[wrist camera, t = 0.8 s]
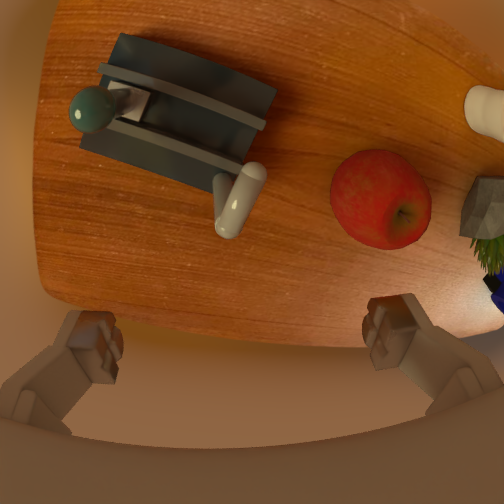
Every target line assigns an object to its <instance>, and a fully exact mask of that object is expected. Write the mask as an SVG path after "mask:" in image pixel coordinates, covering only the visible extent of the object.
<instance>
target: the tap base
mask: <svg viewBox="0 0 504 504" xmlns="http://www.w3.org/2000/svg"><path fill="white" fill-rule="evenodd" d="M97 73H101V74H103V76H102V78H101V81H100V83H99V86H103V87H105V88H107V89H108V86H109V83H110V81H111V80H117V81H120V82H124V83H127V84H130V85H134V86H137V87H140V88H143V89H146V90H150V91H153V94H152V97H151V99H150V102H149V104H148V107H147V109H146V112H145V115H144V117H143V120H141V121H140V122H137V121H134V120H130V119H127V118H124V117H121V116H120V117H118V118H115V119H113V121H112V122H111V123H110V125H109V126H108V127H107V128H105V129H104V130H102V131H100V132H98V133H94V134H86V133H83V136H82V139H81V143H80V146H79V148H81V149H85V150H88V151H91V152H94V153H97V154H100V155H103V156H106V157H109V158H112V159H115V160H118V161H121V162H124V163H127V164H130V165H133V166H136V167H139V168H142V169H145V170H148V171H151V172H154V173H156V174H159V175H162V176H165V177H168V178H171V179H173V180H176V181H179V182H182V183H185V184H187V185H190V186H193V187H196V188H198V189H201V190H204V191H207V192H209V193H212V194H213V205H214V222H215V230H216V232H217V233H218V234H219V235H220V236H221V237H223V238H225V239H233V238H235V237H237V236H238V235H239V234H240V233H241V231H242V229H243V226H244V224H245V222H246V220H247V218H248V216H249V214H250V212H251V210H252V208H253V206H254V204H255V202H256V200H257V198H258V196H259V194H260V192H261V190H262V188H263V186H264V184H265V182H266V180H267V170H266V168H265V167H264V165H262V164H261V163H259V162H255V161H252V162H248V163H246V164H245V165H244V163H243V160H244V158H245V156H246V154H247V152H248V150H249V148H250V146H251V144H252V142H253V140H254V138H255V135H256V133H257V131H258V130H261V131H263V129H264V127H265V125H266V123H267V121H265V120H264V117H265V115H266V113H267V111H268V109H269V107H270V105H271V103H272V101H273V99H274V97H275V95H276V93H277V91H278V89H275V88H273V87H271V86H269V85H267V84H265V83H263V82H260V81H258V80H256V79H254V78H251V77H249V76H247V75H244V74H242V73H240V72H237V71H235V70H233V69H230V68H228V67H225V66H223V65H220V64H218V63H215V62H212V61H210V60H207V59H204V58H202V57H199V56H196V55H193V54H191V53H188V52H185V51H182V50H179V49H176V48H173V47H170V46H167V45H163V44H160V43H157V42H153V41H150V40H147V39H143V38H139V37H136V36H132V35H128V34H124V33H120V35H119V37H118V40H117V42H116V44H115V46H114V49H113V51H112V53H111V56H110V58H109V60H108V63H103V62H101V63H100V65H99V68H98V71H97ZM236 175H238V177H237V179H236V181H235V183H234V184H233V182H234V180H235V178H236Z"/></svg>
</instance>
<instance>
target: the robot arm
mask: <svg viewBox="0 0 504 504" xmlns="http://www.w3.org/2000/svg"><path fill="white" fill-rule="evenodd" d="M367 309H368V311H369V313H368V314H367V315H366V316H365V317H364V319H363V323H362V335H363V339H364V342H365V345H367V346H368V347H369V348H371V349H372V350H371V353H370V357H371V360H372V362H373V365H374V367H375V370H376V371H377V370H383V369H388V368H395V367H399V369H400V370H401V371H402V372H403V373H404V374H406V375H407V376H408V377H409V378H410V379H411V380H412V381H413V382H414V383H415V384H417V385H418V386H419V387H420V388H421V389H422V390H423V391H424V392H426V393H427V394H428V395H429V396H430V397H431V398H432V399H433V400H434V402H433V403H432V404H431V405H430V407H429V408H428V409H427V411H426V413H425V415H426V416H424V417H421V418H418V419H414V420H411V421H407V422H404V423H400V424H397V425H393V426H389V427H385V428H381V429H376V430H372V431H368V432H363V433H358V434H353V435H348V436H343V437H337V438H331V439H325V440H319V441H312V442H305V443H297V444H289V445H278V446H266V447H252V448H229V449H228V448H227V449H188V448H165V447H152V446H141V445H140V446H139V445H131V444H122V443H114V442H107V441H100V440H94V439H88V438H83V437H78V436H72V435H71V434H72V432H71V431H70V429H69V428H68V427H67V426H66V425H65V424H64V423H63V422H62V421H61V420H62V419H63V418H64V417H65V415H66V414H67V413H68V412H69V411H70V410H71V408H72V407H73V406H74V405H75V404H76V403H77V402H78V400H79V399H80V398H81V397H82V396H83V395H84V393H85V392H86V391H87V390H88V389H89V388H90V387H91V385H92V383H98V384H115V381H116V377H117V373H118V370H119V368H118V366H117V364H116V362H117V361H118V360H119V359H120V358H121V357H122V354H123V337H122V334H121V331H120V330H119V329H118V328H117V327H116V326H114V325H115V322H116V319H115V317H114V315H113V313H112V312H110V311H85V310H84V311H77V310H71V311H70V312H68V314H67V316H66V318H65V320H64V322H63V324H62V326H61V328H60V330H59V333H58V335H57V337H56V339H55V341H54V343H53V346H48V347H47V348H45V349H44V350H43V351H42V352H40V353H39V354H38V355H37V356H35V357H34V358H33V359H32V360H30V361H29V362H28V363H27V364H26V365H24V366H23V367H22V368H21V369H19V370H18V371H17V372H16V373H15V374H13V375H12V376H11V377H10V378H9V379H7V380H6V381H5V382H4V383H3V385H2V387H1V389H0V504H504V384H503V382H502V381H501V379H500V377H499V375H498V374H497V372H496V370H495V368H494V367H493V365H492V363H491V361H490V360H489V358H488V357H486V356H485V355H483V354H482V353H480V352H479V351H477V350H475V349H474V348H472V347H471V346H469V345H468V344H466V343H464V342H463V341H461V340H460V339H458V338H457V337H455V336H453V335H452V334H450V333H448V332H447V331H445V330H444V329H442V328H440V327H439V326H433V324H432V322H431V321H430V319H429V317H428V316H427V314H426V313H425V311H424V309H423V308H422V306H421V305H420V303H419V302H418V300H417V298H416V297H415V295H414V294H412V293H407V294H400V295H393V296H385V297H377V298H371V299H370V300H369V302H368V305H367Z"/></svg>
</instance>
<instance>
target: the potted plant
mask: <svg viewBox="0 0 504 504" xmlns="http://www.w3.org/2000/svg"><path fill="white" fill-rule="evenodd" d="M459 236H463V237H469V238H473V239H472V243H471V246H470V248H471V247H472V246H473V244H474V242H475V241H476V239H477V242H476V246H475V251H474V253H475V254H476V253H477V251H478V250H479V254H478V260H479V261H481V267H482V263H483V269H484V267H485V273H486V263H487V268H488V274H491V271H492V275H494V271H495V273H496V274H499V273H500V269H501V267H502V274H503V268H504V176H477V178H476V180H475V182H474V184H473V186H472V188H471V190H470V192H469V194H468V196H467V198H466V200H465V203H464V206H463V209H462V214H461V225H460V234H459ZM475 254H474V256H475Z"/></svg>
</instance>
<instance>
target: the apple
mask: <svg viewBox="0 0 504 504" xmlns="http://www.w3.org/2000/svg"><path fill="white" fill-rule="evenodd" d="M330 204H331V206H332V209H333V211H334V214H335V216H336V218H337V220H338V221H339V223H340V224H341V226H342V227H343V228H344V230H345V231H346V232H347V233H348V234H349V235H350V236H351V237H353V238H354V239H355V240H357V241H359V242H361V243H363V244H365V245H368V246H371V247H375V248H378V249H383V250H395V249H401V248H403V247H405V246H407V245H409V244H412V243H414V242H416V241H418V240H419V238H420V237H421V236H422V235H423V233H424V232H425V231H426V230H427V227H428V225H429V222H430V219H431V205H432V201H431V195H430V193H429V190H428V188H427V186H426V184H425V182H424V180H423V178H422V177H421V176H420V174H419V173H418V172H417V171H416V169H415V168H414V167H413V166H412V165H410V164H409V163H408V162H407V161H406V160H404V159H403V158H402V157H401V156H399V155H398V154H395V153H392V152H388V151H385V150H365V151H360V152H357V153H355V154H354V155H352V156H351V157H349V158H348V159H346V160H345V161H344V162H342V164H341V165H340V166H339V167H338V169H337V170H336V172H335V174H334V177H333V179H332V185H331V190H330Z"/></svg>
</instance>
